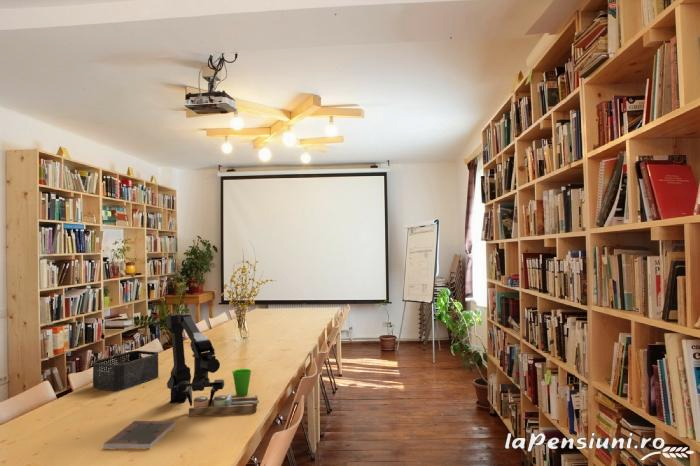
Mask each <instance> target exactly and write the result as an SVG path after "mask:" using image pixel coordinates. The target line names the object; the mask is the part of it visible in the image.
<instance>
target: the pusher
mask: <svg viewBox="0 0 700 466" xmlns="http://www.w3.org/2000/svg"><path fill="white" fill-rule="evenodd" d="M227 397H228V398H227V406H232V404H250V403H253V402H254V401H242V402H232V398H233V394H232V393H230V394H228V395H227ZM257 403H258V404H259V403H260V400H258V401H257Z"/></svg>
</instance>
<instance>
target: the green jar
mask: <svg viewBox="0 0 700 466" xmlns="http://www.w3.org/2000/svg"><path fill="white" fill-rule="evenodd" d="M227 398H228V395H226V394H220V395H214V397H213V399H214V406H227Z"/></svg>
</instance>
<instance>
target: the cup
mask: <svg viewBox="0 0 700 466" xmlns="http://www.w3.org/2000/svg"><path fill="white" fill-rule="evenodd" d="M251 373H252V370H251V369H249V368H239V369H235V370H232V373H231V374H232V375H233V382H234V388H235V395H236V396H237V397H244V396H245V397H246V396H247V395H248V394H249V393H248V392H249V387H250V380H251V379H250V378H251Z"/></svg>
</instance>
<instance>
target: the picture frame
mask: <svg viewBox="0 0 700 466" xmlns="http://www.w3.org/2000/svg"><path fill="white" fill-rule="evenodd" d="M176 422H177V421H176V420H134V421H132V422H130V423H129V424H128V425H126V426H125V427H124V428H123V429H122V430H120V431H118V432H117V433H116V434H115V435H113V436H112V437H110V438H109V439H107V440H106V441H105V442H104V443H102V444H103V445H102V449H103V450H111V449H110V448H119V449H118V450H126V449H125V448H151V447H152V446H153V445H154V444H155V443H156V442H157V441H158V440H159V441H161V439H163V438H164V437H165V436H166V435H167V434H168V433H169V432H170V431H171V430H172V429H173V428H175V427H176V425H177V423H176ZM169 430H170V431H169ZM168 431H169V432H168ZM167 432H168V433H167ZM166 433H167V434H166ZM165 434H166V435H165ZM164 435H165V436H164ZM163 436H164V437H163ZM159 441H158V442H159ZM158 442H157V443H158ZM157 443H156V444H157ZM156 444H155V445H156ZM155 445H154V446H155ZM154 446H153V447H154ZM153 447H152V448H153ZM120 448H121V449H120ZM152 448H151V449H152Z"/></svg>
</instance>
